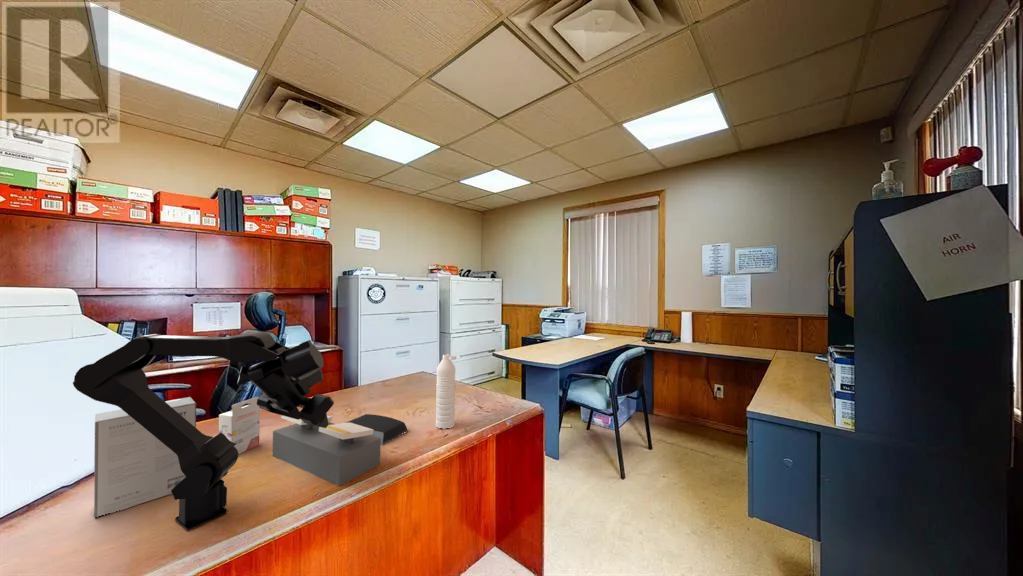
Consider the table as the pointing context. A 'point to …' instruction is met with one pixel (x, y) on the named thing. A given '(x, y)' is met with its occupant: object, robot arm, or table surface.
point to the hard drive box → (133, 460)
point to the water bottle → (445, 392)
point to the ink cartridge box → (242, 425)
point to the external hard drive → (381, 426)
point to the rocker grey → (300, 420)
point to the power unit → (326, 452)
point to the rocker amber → (346, 430)
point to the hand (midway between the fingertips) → (313, 421)
